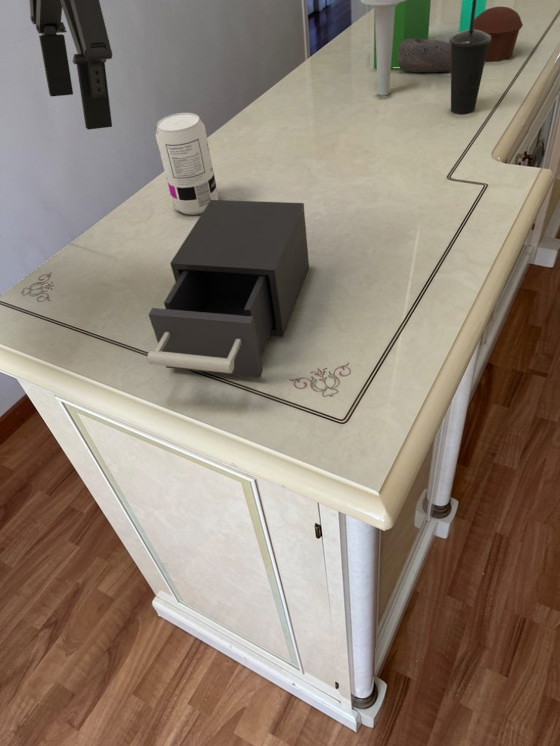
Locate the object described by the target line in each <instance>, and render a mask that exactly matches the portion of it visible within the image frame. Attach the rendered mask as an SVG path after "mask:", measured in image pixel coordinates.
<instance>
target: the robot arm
mask: <svg viewBox="0 0 560 746" xmlns="http://www.w3.org/2000/svg"><path fill="white" fill-rule="evenodd" d="M29 12H30V16H29V18H30V21H31V23H32V25H35V29H36V31H37V33H38V34H39V35H38V37H39V43H40V49H41V54H42V62H43V67H44V71H45V77H46V82H47V83H46V84H47V89H48V94H49V96H50V97H51V98H52V97H62V96H72V95H74V90H73V83H72V77H71V71H70V65H69V58H68V57H69V56H68V51H67V45H66V38H65V35H64V33H65V34H66V33H67V32H68V31H67V29H66V26H65V24H64V21H62V15H63V14H64V16H65V19H66V22H67V26H68V29H69V32H70V35H71V38H72V41H73V44H74V47H75V49H76V53H74V54H73V57H72V63H73V65H76V70H77V76H78V83H79V90H80V91H79V92H80V98H81V103H82V110H83V116H84V118H83V119H84V124H85V125H84V126H85V128H86V130H97V129H98V130H99V129H103V128H104V129H105V128H112V127H113V122H112V112H111V105H110V104H111V103H110V95H109V88H108V87H109V86H108V79H107V72H106V62H107V60H112V58H113V51H112V47H111V43H110V39H109V35H108V31H107V27H106V23H105V22H106V21H105V19H104V14H103V10H102V6H101V3H100V0H29ZM62 33H63V34H62Z"/></svg>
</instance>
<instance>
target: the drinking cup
mask: <svg viewBox="0 0 560 746" xmlns="http://www.w3.org/2000/svg"><path fill="white" fill-rule="evenodd" d="M476 1H477V0H473V3H472V12H471V21H470V30H465V31H462V32H460V33H459V32H457V33H456V34H453V35H451V36H450V38H449V43H451V70H450V111H451V113H453V114H455V115H468V114H472V113H473V112H475V109H476V105H477V101H478V96H479V91H480V86H481V82H482V77H483V73H484V69H485V63H486V62H485V59H486V54H487V49H488V45H489V42H490V41H491V36H490V35H489V34H487V33H484V32H482V31H480V30H473V27H474V19H475V10H476Z"/></svg>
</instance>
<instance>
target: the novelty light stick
mask: <svg viewBox="0 0 560 746" xmlns="http://www.w3.org/2000/svg"><path fill="white" fill-rule="evenodd" d="M403 1H406V0H360V2H361V4H363V5H366V6H367V5H368V6H372V7H373V8H375V30H376V58H377V68H376V81H377V82H376V83H377V95H378V96H383V97H384V96H388V95H389V94H390V84H391V71H392V70H391V58H392V44H393V30H394V17H395V6H396V5H397V4H399V3H400V2H403Z"/></svg>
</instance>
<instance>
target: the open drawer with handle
mask: <svg viewBox="0 0 560 746" xmlns="http://www.w3.org/2000/svg"><path fill="white" fill-rule="evenodd" d="M163 306H164V308H157V307H152V308H151V309H150V310H149V312H148V317H149V321H150V324H151V327H152V330H153V332H154V335H155V338H156V341H157V345H156V347H155V348H154V350H149V351H148V353H147V356H146V357H147V358H146V361H147V363H148V364H149V365H153V366H161V367H166V369H174V370H183V371H193V372H199V373H200V372H201V373H210V374H217V375H218V374H219V375H228V376H236V377H244V378H245V377H246V378H254V379H261V378H262V375H263V372H264V370H263V365H262V359H261V357H262V355H263V352H264V350H265V347H266V346H267V343H268V340H269V338H270V336H271V335H270V333H271V330H272V328H273V325H274V323H275V316H274V309H273V302H272V295H271V288H270V281H269V275H256V274H241V273H227V272H212V271H197V270H183V272H182V273H181V275H180V277H179V278H178V280H177V281H176V282H175V283H174V284H173V287H172V288H171V290H170V291H169V293H168V295H167V296H166V298H165V300H164V301H163Z"/></svg>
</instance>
